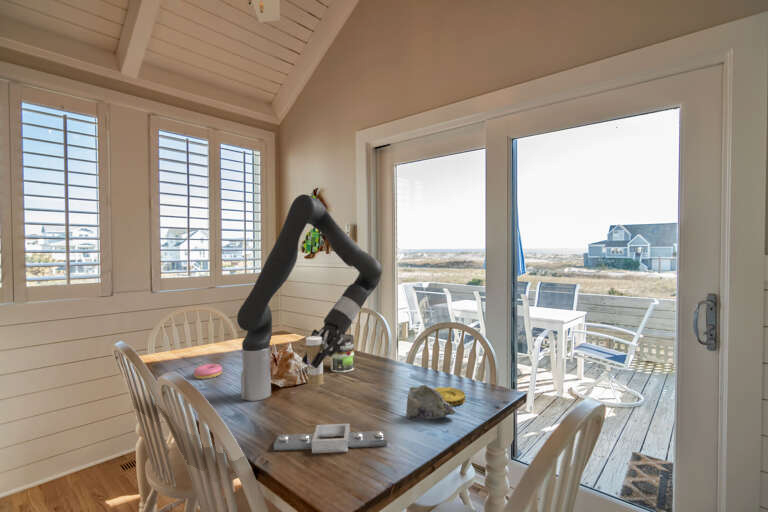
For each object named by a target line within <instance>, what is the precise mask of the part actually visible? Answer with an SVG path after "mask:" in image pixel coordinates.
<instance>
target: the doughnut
mask: <svg viewBox="0 0 768 512" xmlns="http://www.w3.org/2000/svg"><path fill="white" fill-rule="evenodd" d="M222 373H223V367H222V365H220V364H219V363H208V364H202V365H199V366H198V367H196V368H195V369H194V370H193V375H194V377H195V378H196V379H200V380H207V379H206V378H210V379H213V378H212V377H214V378H216V376H217V377H218V375H219V376H220V375H221V374H222Z"/></svg>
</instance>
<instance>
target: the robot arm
mask: <svg viewBox="0 0 768 512" xmlns="http://www.w3.org/2000/svg"><path fill="white" fill-rule="evenodd" d="M307 225H311V226H312V227H314V228H315V229H317V230H318V231H319V232H320V234H322V235H323V236H324V237H325V239H326V241H327V242H328V244H329V247H331V249H332V250H333V252H334V253H335V254H336V255H337V256H338V257H339V259H340V260H341V261H342V262H343V263H344V264H346V266H347V267H353V268H355V269H356V270H357V271H358V273H359V274H358V276H357V277H356V279H355V281H354V282H353V283H351V284H349V285H348V287H347V288H346V289H345V290H344V292H343V293H342V295H341V296H340V297H339V298H338V300H337V301H336V302H335V303H334V304H333V307H332V308H331V309H330V310H329V312H328V314H326V316H325V318H324V319H323V323H324V326H322V328H320V330H317V329H316V328H315V329H313V331H312V332H311V335H310V336H321V337H322V344H321V345H322V347H321V349H320V351H319V352H320V353H318V354H317V355H316V357H315V358H314V360H313V361H312V362H311V365H312V366H313V367H314V368H318V366H319V365H320V364H321V362H322V361H323V362H324V359H325V358H327V357H330V358H331V356H332V355H333V354H334V353H335V352H336V351H337V350H338V349H339V348H340V346H341V345H342V344H343V343H344V342H345V340H344V339H343V338H342V337H341V335H344V334H347V331H348V330H349V329H350V327H351V325H352V324H353V323H354V321H355V319H356V318H357V316H358V314H359V312H360V311H361V309H362V307H363V306H364V304H365V302H366V301H367V299H368V298H369V296H370V295H371V294H372V293H373V291H375V289H376V287H377V286H378V284H379V283H380V281H381V276H382V275H383V274H382V273H383V267H382V265H381V264H380V263H379V261H378V260H377V259H376V258H375V257H373V256H372V255H370V254H369V253H368V252H366V251H365V250H362V248H361V247H360V246H359V245H358V244H357V243H356V241H354V240H353V239H352V238H351V237H350V236H349V235H348V234H347V233H346V231H344V230H343V229H342V227H340V225H339V224H338V223H337V221H335V219H334V218H333V216H332V215H331V214H330V212H329V211H328V210H327V207H325V205H324V204H323V202H322V201H321V200H319V199H318V198H315V197H313V196H312V195H309V194H300V195H298V196H296V197H295V199H294V200H293V202H292V203H291V204H290V208H289V210H288V212H287V216H286V219H285V221H284V224H283V226H282V228H281V231H280V233H279V235H278V237H277V239H276V240H275V243H274V245H273V247H272V248H271V250H270V252H269V255H268V257H267V258H266V260H265V262H264V264H263V267H262V268H261V271H260V273H259V275H258V277H257V279H256V281H255V283H254V285H253V288H252V289H251V291H250V293H249V294H248V296H247V298H245V300H244V301H243V303H242V305H241V307H240V308H239V310H238V313H237V314H236V315H237V316H236V320H237V325H238V327H240V329H241V330H243V331H246V336H245V337H244V339H243V340H242V342H241V343H242V344H241V346H242V347H241V348H242V350H241V351H242V371H241V372H240V383H241V385H240V387H241V389H240V390H241V393H240V394H241V400H245V401H248V402H249V401H250V402H256V401H261V400H264V399H268V398H269V397H270V396H271V395H272V385H271V384H272V381H271V380H272V379H271V377H272V376H271V375H272V374H271V347H270V346H271V339H272V335H273V332H272V331H273V315H272V311H271V310H272V309H271V308H270V306H269V302H270V301H271V299H272V298H273V297H274V295H275V294H276V293H277V291H279V289H281V287H282V286H283V285H284V284H285V283H286V281H288V278H289V276H290V275H291V274H292V271H293V270H294V267H295V265H296V263H297V260H298V253H299V242H300V240H301V236H302V234H303V232H304V230H305V227H306V226H307ZM333 347H334V349H333V350H332V348H333ZM330 350H332V351H330ZM301 362H302V363H303V364H305V365H307V352H306V353H305V354H304V356H303V357H302V359H301Z"/></svg>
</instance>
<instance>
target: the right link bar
mask: <svg viewBox="0 0 768 512" xmlns="http://www.w3.org/2000/svg"><path fill="white" fill-rule="evenodd" d="M348 447H351V448H369V447H370V448H372V447H388V437H387V430H370V431H369V430H368V431H367V430H365V431H350V432H349V439H348Z"/></svg>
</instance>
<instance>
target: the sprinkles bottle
mask: <svg viewBox="0 0 768 512" xmlns="http://www.w3.org/2000/svg"><path fill="white" fill-rule="evenodd" d="M321 344H322V337H321V336H311V335H310V336H307V337H306V338H305V346H306V353H307V366H306V369H307V370H306V373H307V386H308V387H311V388H316V387H320V386H322V385H324V366H323V365H324V363H323V362H324V360H323V361H322V362H321V364H320V365H319V366H318V368H314V367H313V366H312V365H311V362H312V361H313V360H314V358H315V357H316V355H317V354H318V353H320V352H319V351H320V349H321V347H322V345H321Z"/></svg>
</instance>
